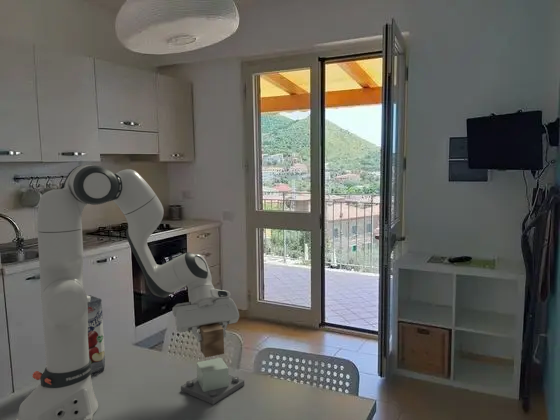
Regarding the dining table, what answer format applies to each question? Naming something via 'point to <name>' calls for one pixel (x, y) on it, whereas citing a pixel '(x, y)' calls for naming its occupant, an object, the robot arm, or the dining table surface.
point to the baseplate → (212, 393)
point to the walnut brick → (212, 340)
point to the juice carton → (96, 334)
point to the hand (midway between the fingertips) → (212, 339)
